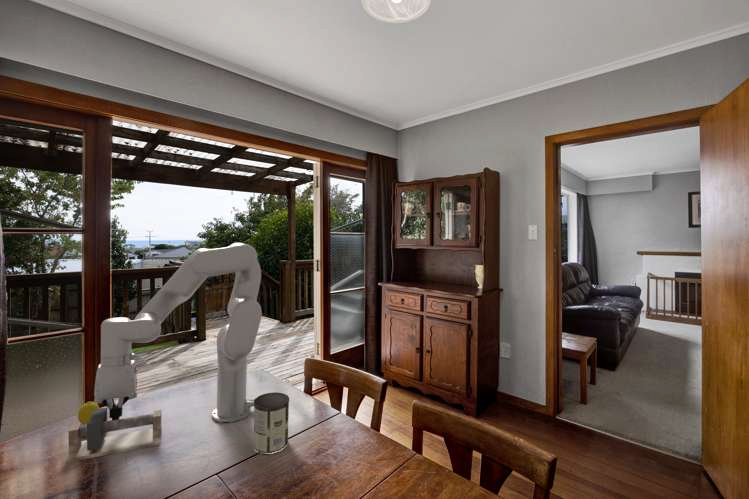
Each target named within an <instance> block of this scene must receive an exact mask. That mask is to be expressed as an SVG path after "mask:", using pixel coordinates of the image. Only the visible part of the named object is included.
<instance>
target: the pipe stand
mask: <svg viewBox="0 0 749 499" xmlns="http://www.w3.org/2000/svg"><path fill="white" fill-rule="evenodd" d="M149 425H152V428H148V429H143V430H136V431H131V432H126V433H121V434H120V433H119V434H114V435H108V436H105V438H104V441H103V443H102V446H101V448H100V449H94V450H89V451H87V439H85V440H82V439H83V437H87V425H83V424H82V423H80V422H77V423H72V425H71V427H70V429H69V430H68V456H67V457H66V459H65V463H73V462H77V461H81V460H86V459H91V458H97V457H102V456H107V455H113V454H117V453H122V452H127V451H133V450H137V449H142V448H143V449H144V448H147V447H153V446H154V447H155V446H159V445H160V444H161V438H162V432H163V427H162V409H159V410H153V413H150V414H143V415H136V416H130V417H125V418H119V419H117V420H112V419H111V420H107V421H105V422H102V433H105V432H107V433H110V432H117V431H122V430H127V429H133V428H139V427H145V426H149Z"/></svg>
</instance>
